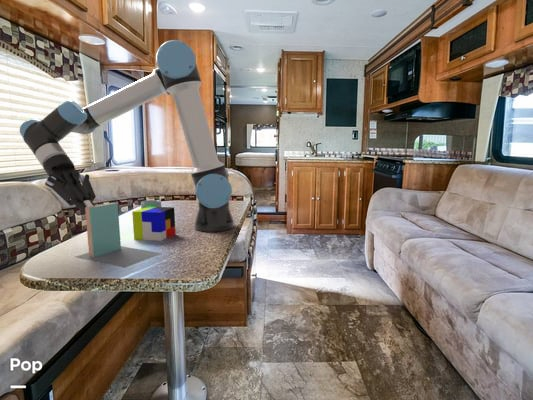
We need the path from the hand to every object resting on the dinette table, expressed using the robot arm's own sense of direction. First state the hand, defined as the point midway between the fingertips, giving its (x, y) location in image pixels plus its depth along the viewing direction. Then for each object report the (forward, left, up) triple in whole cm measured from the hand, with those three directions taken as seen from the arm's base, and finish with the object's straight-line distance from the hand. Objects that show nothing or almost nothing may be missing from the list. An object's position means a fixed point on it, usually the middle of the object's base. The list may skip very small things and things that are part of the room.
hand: (96, 219), depth 96 cm
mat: (-6, +5, -10) cm, 13 cm away
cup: (-15, -33, -10) cm, 37 cm away
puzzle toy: (-16, -14, -10) cm, 23 cm away
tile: (-2, +2, -10) cm, 10 cm away
